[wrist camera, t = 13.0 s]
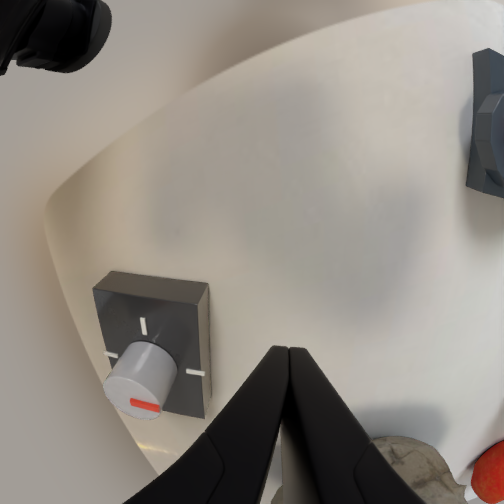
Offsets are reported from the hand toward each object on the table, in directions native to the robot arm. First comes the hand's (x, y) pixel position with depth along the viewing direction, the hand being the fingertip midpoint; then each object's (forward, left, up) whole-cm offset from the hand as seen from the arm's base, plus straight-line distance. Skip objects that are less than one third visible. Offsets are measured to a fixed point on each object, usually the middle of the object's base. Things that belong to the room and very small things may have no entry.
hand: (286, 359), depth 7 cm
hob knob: (+11, -9, -10) cm, 17 cm away
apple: (+34, +40, -13) cm, 54 cm away
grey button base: (-9, +17, -13) cm, 23 cm away
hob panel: (+11, -9, -13) cm, 19 cm away
